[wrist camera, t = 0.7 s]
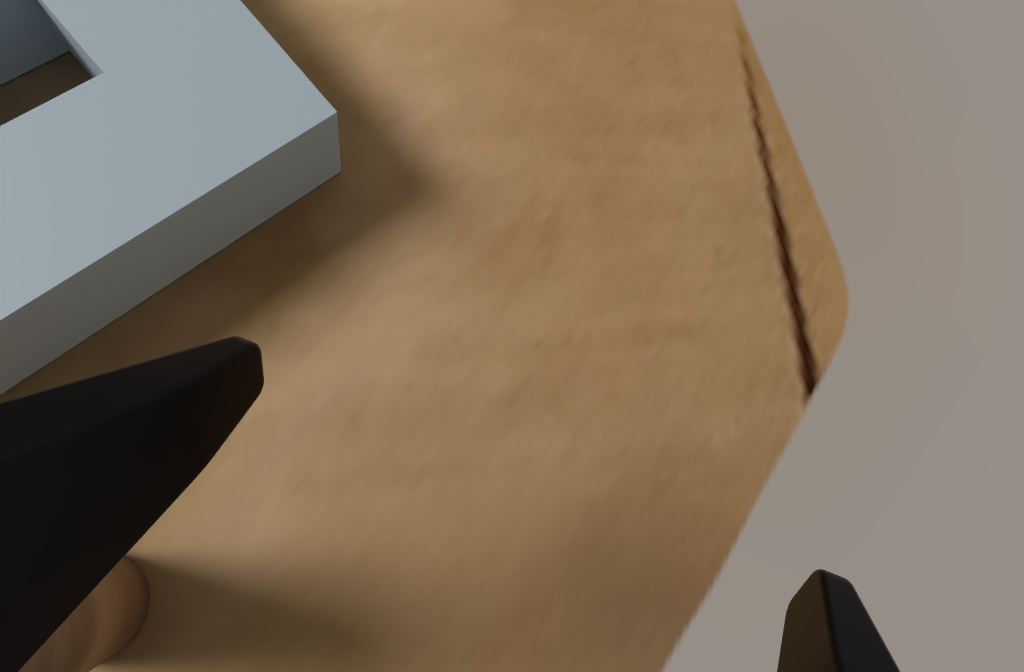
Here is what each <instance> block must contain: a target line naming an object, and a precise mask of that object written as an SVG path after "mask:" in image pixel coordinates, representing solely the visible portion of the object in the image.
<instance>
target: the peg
mask: <svg viewBox="0 0 1024 672" xmlns="http://www.w3.org/2000/svg"><path fill="white" fill-rule="evenodd" d="M149 601H150V592H149V586H148V583H147V580H146V578H145V576H144V574H143V572H142V571H141V569H140V568H139V567H138V566H137V565H136V564H135V563H134V562H133V561H132V560H130V559H129V558H127V557H125V556H124V557H123V558H122V559H121V560H120V561H119V562H118V563H117V565H116V566H115V567H114V568H113V569H112V570H111V571H110V572H109V573H108V574H107V575H106V577H105V578H104V579H103V580H102V581H101V582H100V583H99V584H98V585H97V586H96V588H95V589H94V590H93V591H92V592H91V593H90V594H89V595H88V596H87V597H86V598H85V600H84V601H83V602H82V603H81V604H80V605H79V606H78V607H77V608H76V609H75V610H74V612H73V613H72V614H71V615H70V616H69V617H68V618H67V619H66V620H65V621H64V623H63V624H62V625H61V626H60V627H59V628H58V629H57V630H56V631H55V632H54V633H53V635H52V636H51V637H50V638H49V639H48V640H47V641H46V642H45V643H44V644H43V645H42V647H41V648H40V649H39V650H38V651H37V652H36V653H35V654H34V655H33V656H32V657H31V659H30V660H29V661H28V662H27V663H26V664H25V665H24V666H23V667H22V668H21V670H20V671H19V672H89V671H90V670H92V669H93V668H95V667H96V666H98V665H99V664H101V663H102V662H104V661H105V660H107V659H108V658H110V657H111V656H113V655H114V654H115V653H117V652H118V651H120V650H121V649H122V648H124V647H125V646H126V645H127V644H128V643H129V642H130V641H131V640H132V639H133V638H134V637H135V636H136V634H137V633H138V631H139V630H140V629H141V627H142V625H143V623H144V621H145V618H146V616H147V612H148V608H149Z"/></svg>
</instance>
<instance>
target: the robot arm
mask: <svg viewBox="0 0 1024 672" xmlns="http://www.w3.org/2000/svg"><path fill="white" fill-rule="evenodd" d="M263 384H264V376H263V366H262V356H261V349H260V347H259V346H258V345H257V344H256V343H254V342H251V341H249V340H246V339H244V338H241V337H236V336H235V337H229V338H226V339H222V340H219V341H215V342H212V343H208V344H205V345H201V346H198V347H194V348H191V349H187V350H184V351H180V352H177V353H173V354H170V355H166V356H163V357H159V358H156V359H152V360H149V361H145V362H142V363H138V364H135V365H131V366H128V367H124V368H121V369H117V370H114V371H110V372H107V373H103V374H100V375H96V376H93V377H89V378H86V379H82V380H79V381H75V382H72V383H68V384H65V385H61V386H58V387H54V388H51V389H47V390H44V391H40V392H37V393H33V394H30V395H26V396H23V397H19V398H16V399H12V400H8V401H5V402H1V403H0V672H19V671H20V670H21V668H22V667H23V666H24V665H25V664H26V663H27V662H28V661H29V660H30V659H31V657H32V656H33V655H34V654H35V653H36V652H37V651H38V650H39V649H40V648H41V647H42V645H43V644H44V643H45V642H46V641H47V640H48V639H49V638H50V637H51V636H52V635H53V633H54V632H55V631H56V630H57V629H58V628H59V627H60V626H61V625H62V624H63V623H64V621H65V620H66V619H67V618H68V617H69V616H70V615H71V614H72V613H73V612H74V610H75V609H76V608H77V607H78V606H79V605H80V604H81V603H82V602H83V601H84V600H85V598H86V597H87V596H88V595H89V594H90V593H91V592H92V591H93V590H94V589H95V588H96V586H97V585H98V584H99V583H100V582H101V581H102V580H103V579H104V578H105V577H106V575H107V574H108V573H109V572H110V571H111V570H112V569H113V568H114V567H115V566H116V565H117V563H118V562H119V561H120V560H121V559H122V558H123V557H124V556H125V555H126V554H127V553H128V551H129V550H130V549H131V548H132V547H133V546H134V545H135V544H136V543H137V542H138V540H139V539H140V538H141V537H142V536H143V535H144V534H145V533H146V532H147V531H148V530H149V528H150V527H151V526H152V525H153V524H154V523H155V522H156V521H157V520H158V519H159V518H160V516H161V515H162V514H163V513H164V512H165V511H166V510H167V509H168V508H169V507H170V506H171V504H172V503H173V502H174V501H175V500H176V499H177V498H178V497H179V496H180V495H181V493H182V492H183V491H184V490H185V489H186V488H187V487H188V486H189V485H190V484H191V483H192V481H193V480H194V479H195V478H196V477H197V476H198V475H199V474H200V472H201V471H202V470H203V469H204V468H205V467H206V466H207V464H208V463H209V462H210V460H211V459H212V458H213V457H214V455H215V454H216V453H217V451H218V450H219V449H220V447H221V446H222V445H223V443H224V442H225V441H226V439H227V438H228V437H229V435H230V434H231V433H232V431H233V430H234V428H235V427H236V426H237V424H238V423H239V422H240V420H241V419H242V418H243V416H244V415H245V414H246V412H247V411H248V410H249V408H250V407H251V406H252V404H253V403H254V401H255V400H256V399H257V397H258V396H259V394H260V393H261V391H262V388H263ZM777 672H900V671H899V669H898V667H897V665H896V663H895V661H894V659H893V658H892V656H891V654H890V652H889V650H888V648H887V647H886V645H885V643H884V641H883V639H882V638H881V636H880V634H879V632H878V630H877V628H876V627H875V625H874V623H873V621H872V620H871V618H870V616H869V614H868V612H867V610H866V608H865V607H864V605H863V603H862V601H861V599H860V598H859V596H858V594H857V592H856V590H855V589H854V587H853V585H852V584H851V583H850V582H849V581H848V580H846V579H845V578H842V577H840V576H838V575H835V574H833V573H830V572H828V571H825V570H821V569H819V570H816V571H815V572H813V573H812V574H811V576H810V577H809V578H808V579H807V581H806V582H805V583H804V584H803V586H802V587H801V588H800V589H799V591H798V592H797V593H796V594H795V596H794V597H793V598H792V600H791V602H790V603H789V606H788V609H787V612H786V618H785V624H784V631H783V637H782V644H781V650H780V657H779V663H778V670H777Z"/></svg>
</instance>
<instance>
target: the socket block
mask: <svg viewBox="0 0 1024 672" xmlns="http://www.w3.org/2000/svg"><path fill="white" fill-rule="evenodd" d="M68 51H70V52H71V53H72V55H73V56H74V57H75V58H76V59H77V60H78V62H79V63H80V64H81V65H82V66H83V68H84V69H85V70H86V71H87V72H88V73H89V75H90V76H91V77H92V79H90V80H88V81H86V82H84V83H82V84H80V85H79V86H77V87H75V88H73V89H71V90H69V91H67V92H65V93H63V94H61V95H59V96H57V97H55V98H53V99H52V100H50V101H48V102H46V103H44V104H42V105H40V106H38V107H36V108H34V109H32V110H30V111H28V112H26V113H24V114H23V115H21V116H19V117H17V118H15V119H13V120H11V121H9V122H7V123H5V124H3V125H1V126H0V395H1V394H3V393H4V392H6V391H7V390H9V389H10V388H12V387H13V386H15V385H16V384H18V383H19V382H21V381H22V380H24V379H25V378H27V377H28V376H30V375H32V374H33V373H35V372H36V371H38V370H39V369H41V368H42V367H44V366H45V365H47V364H48V363H50V362H51V361H53V360H54V359H56V358H57V357H59V356H60V355H62V354H63V353H65V352H67V351H68V350H70V349H71V348H73V347H74V346H76V345H77V344H79V343H80V342H82V341H83V340H85V339H86V338H88V337H89V336H91V335H92V334H94V333H95V332H97V331H99V330H100V329H102V328H103V327H105V326H106V325H108V324H109V323H111V322H112V321H114V320H115V319H117V318H118V317H120V316H121V315H123V314H124V313H126V312H127V311H129V310H131V309H132V308H134V307H135V306H137V305H138V304H140V303H141V302H143V301H144V300H146V299H147V298H149V297H150V296H152V295H153V294H155V293H156V292H158V291H159V290H161V289H162V288H164V287H166V286H167V285H169V284H170V283H172V282H173V281H175V280H176V279H178V278H179V277H181V276H182V275H184V274H185V273H187V272H188V271H190V270H191V269H193V268H194V267H196V266H198V265H199V264H201V263H202V262H204V261H205V260H207V259H208V258H210V257H211V256H213V255H214V254H216V253H217V252H219V251H220V250H222V249H223V248H225V247H226V246H228V245H230V244H231V243H233V242H234V241H236V240H237V239H239V238H240V237H242V236H243V235H245V234H246V233H248V232H249V231H251V230H252V229H254V228H255V227H257V226H258V225H260V224H261V223H263V222H265V221H266V220H268V219H269V218H271V217H272V216H274V215H275V214H277V213H278V212H280V211H281V210H283V209H284V208H286V207H287V206H289V205H290V204H292V203H293V202H295V201H297V200H298V199H300V198H301V197H303V196H304V195H306V194H307V193H309V192H310V191H312V190H313V189H315V188H316V187H318V186H319V185H321V184H322V183H324V182H325V181H327V180H329V179H330V178H332V177H333V176H335V175H336V174H338V173H339V172H341V159H340V145H339V131H338V116H337V111H336V110H335V109H334V108H333V107H332V105H331V104H330V103H329V102H328V101H327V100H326V99H325V97H324V96H323V95H322V94H321V93H320V92H319V90H318V89H317V88H316V87H315V86H314V85H313V84H312V82H311V81H310V80H309V79H308V78H307V77H306V75H305V74H304V73H303V72H302V71H301V70H300V69H299V67H298V66H297V65H296V64H295V63H294V62H293V60H292V59H291V58H290V57H289V56H288V55H287V54H286V52H285V51H284V50H283V49H282V48H281V47H280V45H279V44H278V43H277V42H276V41H275V40H274V39H273V37H272V36H271V35H270V34H269V33H268V32H267V30H266V29H265V28H264V27H263V26H262V25H261V24H260V22H259V21H258V20H257V19H256V18H255V17H254V15H253V14H252V13H251V12H250V11H249V10H248V9H247V7H246V6H245V5H244V4H243V3H242V2H241V0H0V85H2V84H4V83H6V82H8V81H10V80H12V79H14V78H16V77H18V76H20V75H22V74H24V73H26V72H28V71H30V70H32V69H34V68H36V67H38V66H40V65H42V64H44V63H46V62H48V61H50V60H52V59H54V58H56V57H58V56H60V55H62V54H64V53H66V52H68Z"/></svg>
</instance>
